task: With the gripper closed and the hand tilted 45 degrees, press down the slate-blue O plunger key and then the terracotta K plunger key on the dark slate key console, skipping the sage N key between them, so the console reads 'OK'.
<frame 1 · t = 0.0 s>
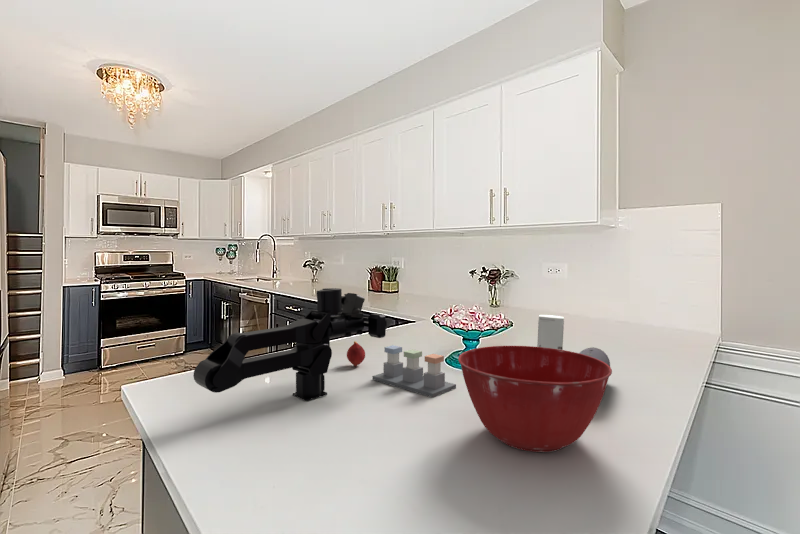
hand: (380, 319, 125), 17 cm above the countertop, tool horizontal, fingers open, 9 cm apart
key o: (393, 355, 122), point 7 cm above the countertop, slide at 0.0 cm
key console: (412, 383, 117), on the countertop
bluetooth speaker: (588, 392, 110), on the countertop
onion: (356, 366, 135), on the countertop
key k: (434, 365, 112), point 7 cm above the countertop, slide at 0.0 cm
key n: (412, 360, 117), point 7 cm above the countertop, slide at 0.0 cm
skincare box: (550, 360, 143), on the countertop
mixing bowl: (530, 437, 84), on the countertop
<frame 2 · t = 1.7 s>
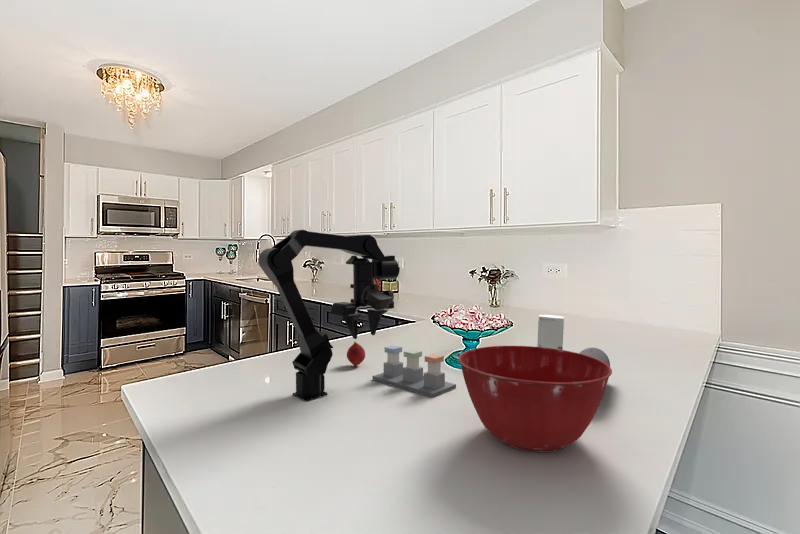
hand: (364, 336, 117), 13 cm above the countertop, tool pointing down, fingers open, 6 cm apart
nothing on the countertop moved.
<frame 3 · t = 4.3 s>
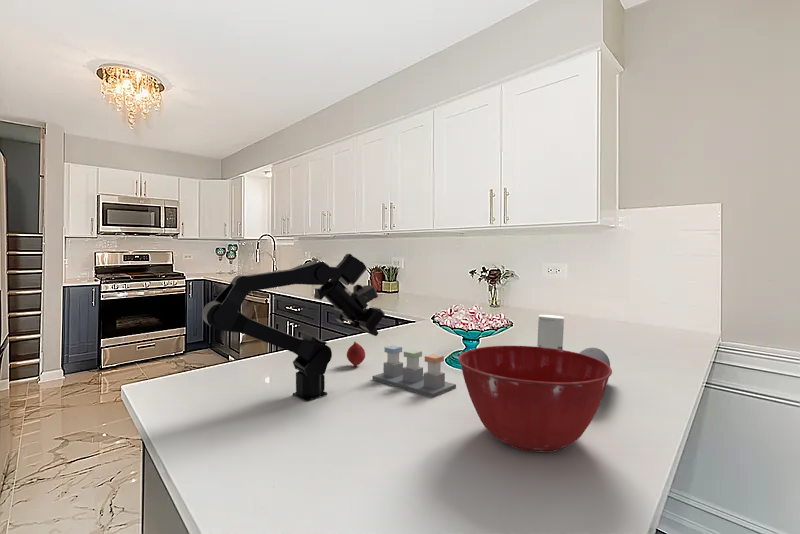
hand: (376, 334, 118), 13 cm above the countertop, tool tilted 45°, fingers closed
nothing on the countertop moved.
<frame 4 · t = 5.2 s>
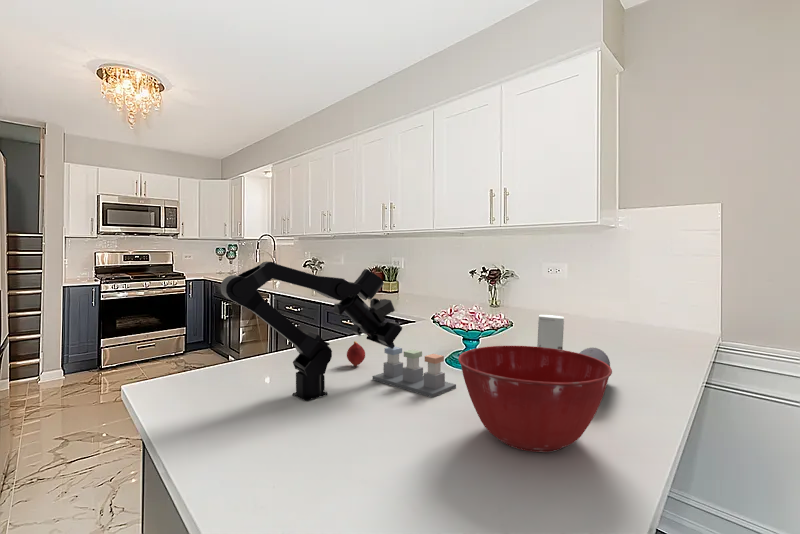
hand: (393, 347, 122), 9 cm above the countertop, tool tilted 45°, fingers closed, pressing on key o
key o: (393, 356, 122), point 6 cm above the countertop, slide at 0.3 cm, touching gripper
everything else where it was.
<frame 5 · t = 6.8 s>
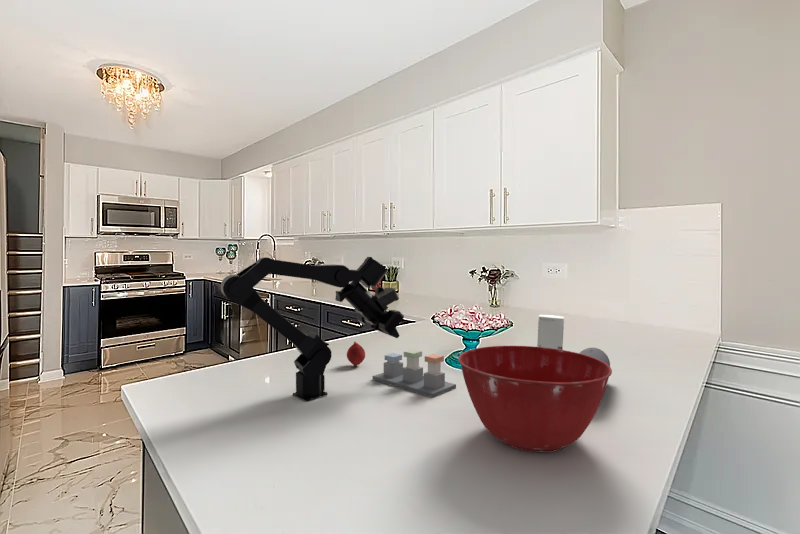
hand: (397, 336, 119), 13 cm above the countertop, tool tilted 45°, fingers closed
key o: (393, 363, 122), point 4 cm above the countertop, slide at 2.3 cm
everything else where it was.
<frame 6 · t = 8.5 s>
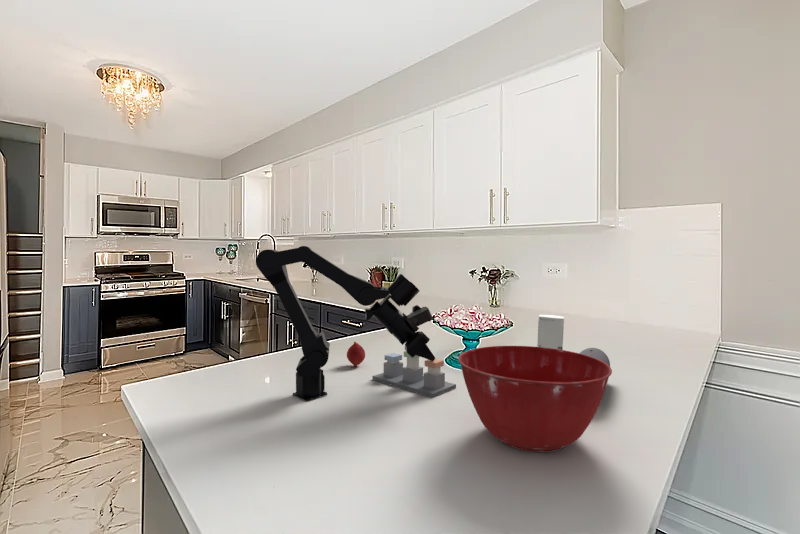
hand: (434, 359, 112), 8 cm above the countertop, tool tilted 45°, fingers closed, pressing on key k
key k: (434, 369, 112), point 5 cm above the countertop, slide at 1.2 cm, touching gripper
everything else where it was.
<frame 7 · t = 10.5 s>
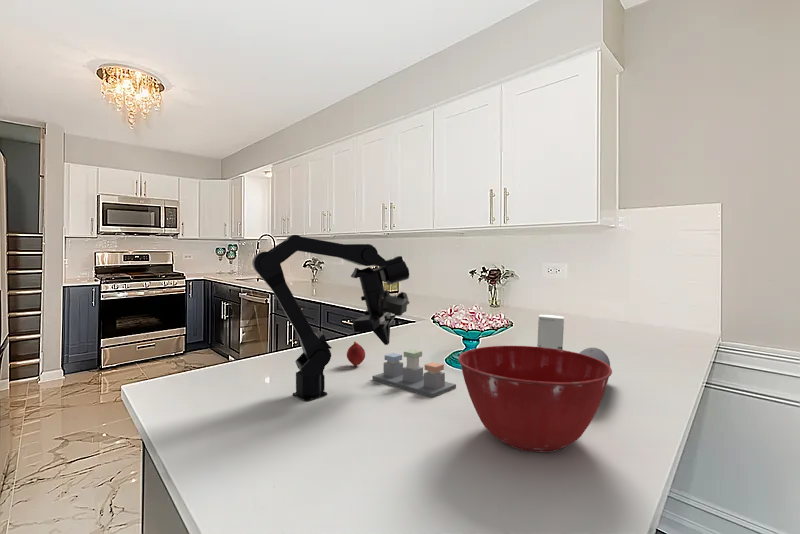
hand: (387, 344, 115), 11 cm above the countertop, tool pointing down, fingers closed
key k: (434, 373, 112), point 4 cm above the countertop, slide at 2.3 cm
everything else where it was.
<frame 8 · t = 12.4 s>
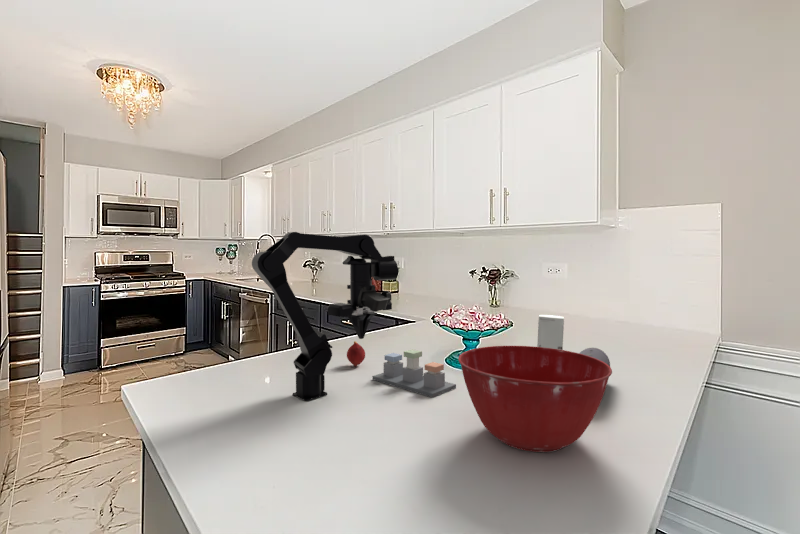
hand: (361, 338, 115), 13 cm above the countertop, tool pointing down, fingers closed
nothing on the countertop moved.
at the end: key o slide at 2.3 cm; key k slide at 2.3 cm; key n slide at 0.0 cm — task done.
